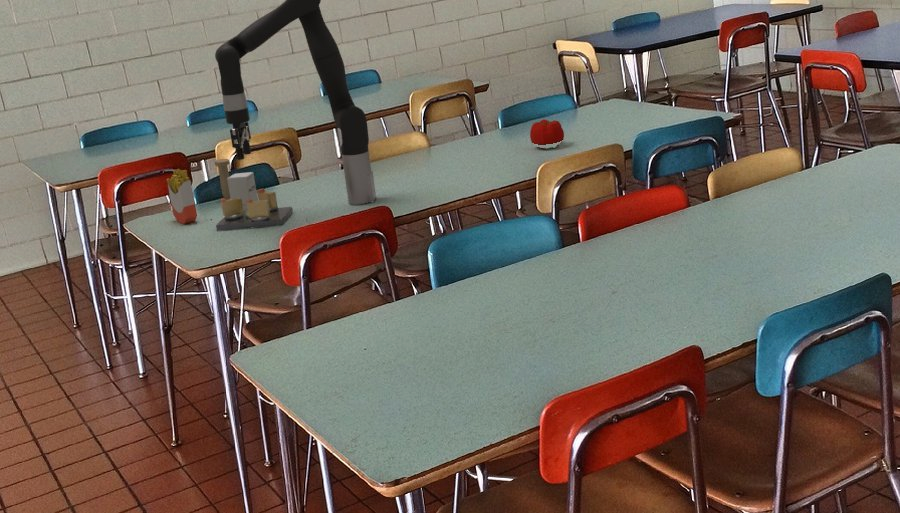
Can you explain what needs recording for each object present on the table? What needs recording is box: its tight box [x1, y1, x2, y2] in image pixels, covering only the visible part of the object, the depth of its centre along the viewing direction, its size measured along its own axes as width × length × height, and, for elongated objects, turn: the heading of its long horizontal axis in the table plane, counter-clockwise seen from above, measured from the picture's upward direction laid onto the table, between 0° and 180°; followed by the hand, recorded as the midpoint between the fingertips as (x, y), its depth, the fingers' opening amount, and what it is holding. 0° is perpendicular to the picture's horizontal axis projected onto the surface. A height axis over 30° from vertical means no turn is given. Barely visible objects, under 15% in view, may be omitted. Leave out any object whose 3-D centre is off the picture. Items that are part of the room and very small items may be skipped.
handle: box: [214, 158, 231, 200], centre depth 382 cm, size 5×6×15 cm
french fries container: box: [166, 168, 198, 225], centre depth 357 cm, size 5×11×18 cm, turn 37°
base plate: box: [215, 206, 294, 232], centre depth 348 cm, size 22×16×4 cm
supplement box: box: [227, 171, 259, 211], centre depth 365 cm, size 7×7×13 cm
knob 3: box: [247, 199, 270, 222], centre depth 341 cm, size 6×6×7 cm
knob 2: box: [256, 188, 279, 211], centre depth 353 cm, size 6×6×7 cm
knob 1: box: [220, 197, 244, 220], centre depth 348 cm, size 6×6×7 cm
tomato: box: [529, 119, 565, 145], centre depth 409 cm, size 14×13×10 cm
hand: (244, 156), depth 342 cm, fingers open, 8 cm apart
